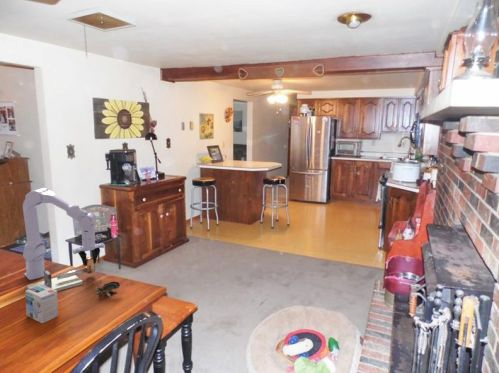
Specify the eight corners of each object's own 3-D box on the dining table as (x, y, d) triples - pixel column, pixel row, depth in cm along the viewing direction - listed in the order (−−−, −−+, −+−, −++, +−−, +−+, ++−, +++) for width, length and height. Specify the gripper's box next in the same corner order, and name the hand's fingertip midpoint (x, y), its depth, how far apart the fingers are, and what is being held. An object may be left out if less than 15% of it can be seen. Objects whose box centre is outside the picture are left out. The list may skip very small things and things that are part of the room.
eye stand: (27, 288, 155) (25, 272, 154) (73, 276, 170) (72, 261, 168) (34, 297, 147) (33, 281, 146) (82, 284, 162) (82, 269, 160)
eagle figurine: (106, 300, 145) (123, 288, 153) (98, 286, 145) (115, 275, 153) (99, 304, 150) (115, 292, 157) (90, 290, 150) (107, 279, 157)
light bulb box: (26, 316, 133) (24, 290, 131) (43, 308, 139) (41, 283, 137) (42, 324, 128) (40, 297, 126) (59, 315, 134) (58, 290, 132)
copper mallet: (56, 279, 160) (55, 264, 159) (92, 269, 172) (91, 256, 171) (58, 281, 157) (58, 267, 156) (95, 272, 170) (95, 258, 168)
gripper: (76, 243, 159) (77, 270, 161) (106, 237, 169) (107, 262, 171) (70, 239, 163) (71, 266, 166) (100, 233, 174) (101, 258, 176)
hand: (89, 264), depth 169 cm, fingers closed on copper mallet, 4 cm apart
